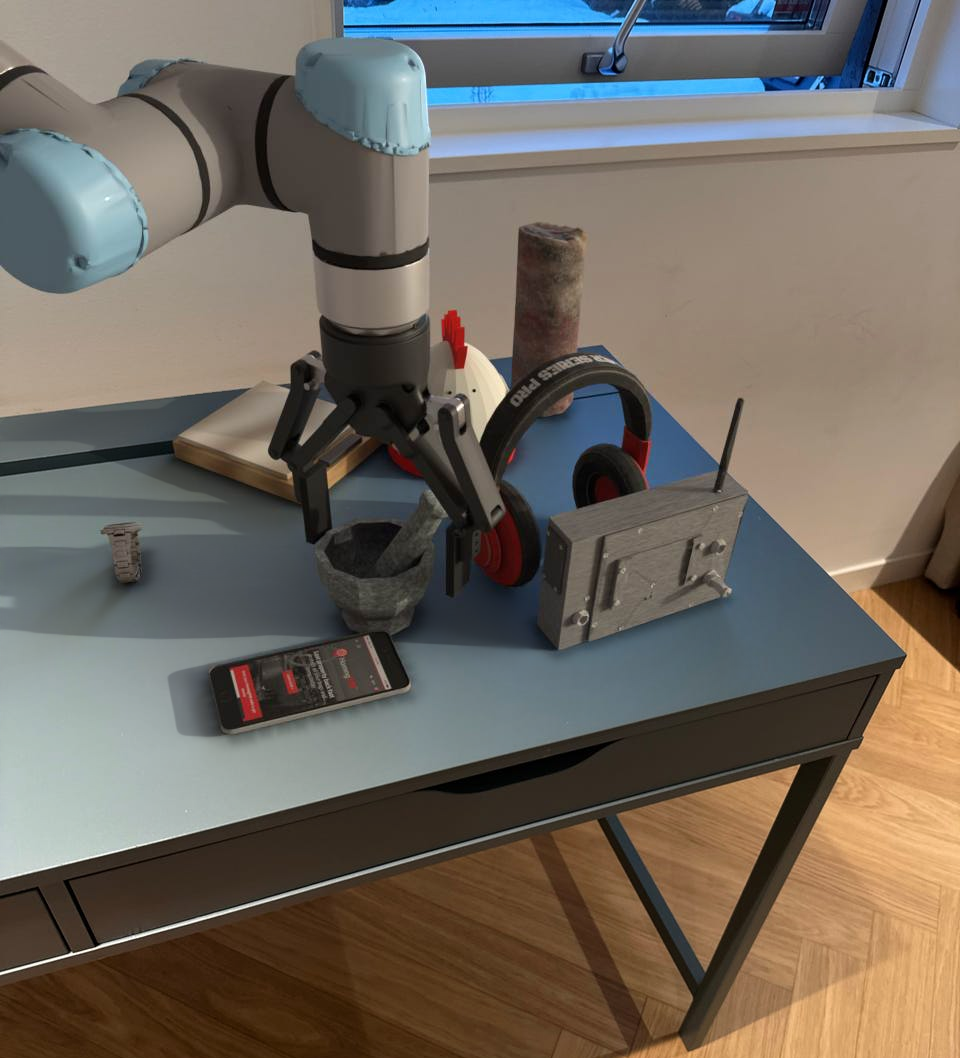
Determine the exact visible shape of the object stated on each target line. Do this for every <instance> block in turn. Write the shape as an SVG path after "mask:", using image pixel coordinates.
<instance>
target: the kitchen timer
mask: <svg viewBox="0 0 960 1058" xmlns="http://www.w3.org/2000/svg"><path fill="white" fill-rule="evenodd" d="M443 315H444V316H443V318H441V319H440V324H441V338H442V339H441V340H442V341H440V342H438V343H436V344H433V345H430V367H429V372H428V385H429V388H430V390H431V392H432V394H433V396H438V397H443V398H449V399H452V398H453V397H454V396H456V395H457V394H459V393H462V394H465V395H466V396H467V397H468V399H469V402H470V412H471V424H472V427H473V429H474V432H475V434H476V437H477V439H478V442H480V439H481V436H482V434H483V432H484V429H485V427H486V425H487V423H488V421H489V419H490V417H491V416H492V414H493V412H494V411H495V409H496V407H497V406H498V405H499V404H500V402H501V401H502V400H503V398H504V397H505V396H506V394H507V393H508V392H509V391H510V390H511V389H509V387H508V385H507V383H506V380H505V379H504V377H503V376H502V375H503V374H501V373H499V372H498V370H497V368H496V367H495V366H494V365H493V363H492V362H491V361H490V360H489V359H488V357H486V355H485V354H484V353H483V352H482V351H480V350H479V349H478V348H476V347H475V346H473V345H472V344H469V343H468V342H465V340H466V339H465V335H466V332H465V331H466V329H465V326H461V325H462V324H461V316H458V309H451V310H447V313H444V314H443ZM427 415H428V416H429V418H430V419H431V421H432V422H433V424H434V423H435V422H434V419H433V418H432V417H431V416H430V415H429V414H427ZM418 436H419V431H418V430H417V428H415V429H414V430H413V432H412V433H411V434H409V437H410V438H411V440H412V441H413V440H415V439H416V438H417V437H418ZM438 439H439V441H440V443H441V444H442V441H441V438H440V432H439V431H438ZM442 446H443V444H442ZM387 449H388V454H389V456H390V457H391V459H392V461H393V462H394V463H395V464H396V465H398V466H399V467H400V468H401V469H403V470H404V471H405V472H408V473H410V474H413V475H415V476H416V477H419V478H422V476H421V475H420V473H419V472H418V470H417V469H416V467H415V466H414V464H413V463H412V461H411V460H410V459H405V458H404V457H403V456H402V455H401V454H400V452H399V451H398V449H397V448H396V446H395V445H394V443H393V444H392V445H388V444H387ZM515 451H516V448H515V449H514V451H513V453H512V455H511V457H510V459H509V462H508V464H510V463H511V461H512V460H513V457H514V454H515Z"/></svg>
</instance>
